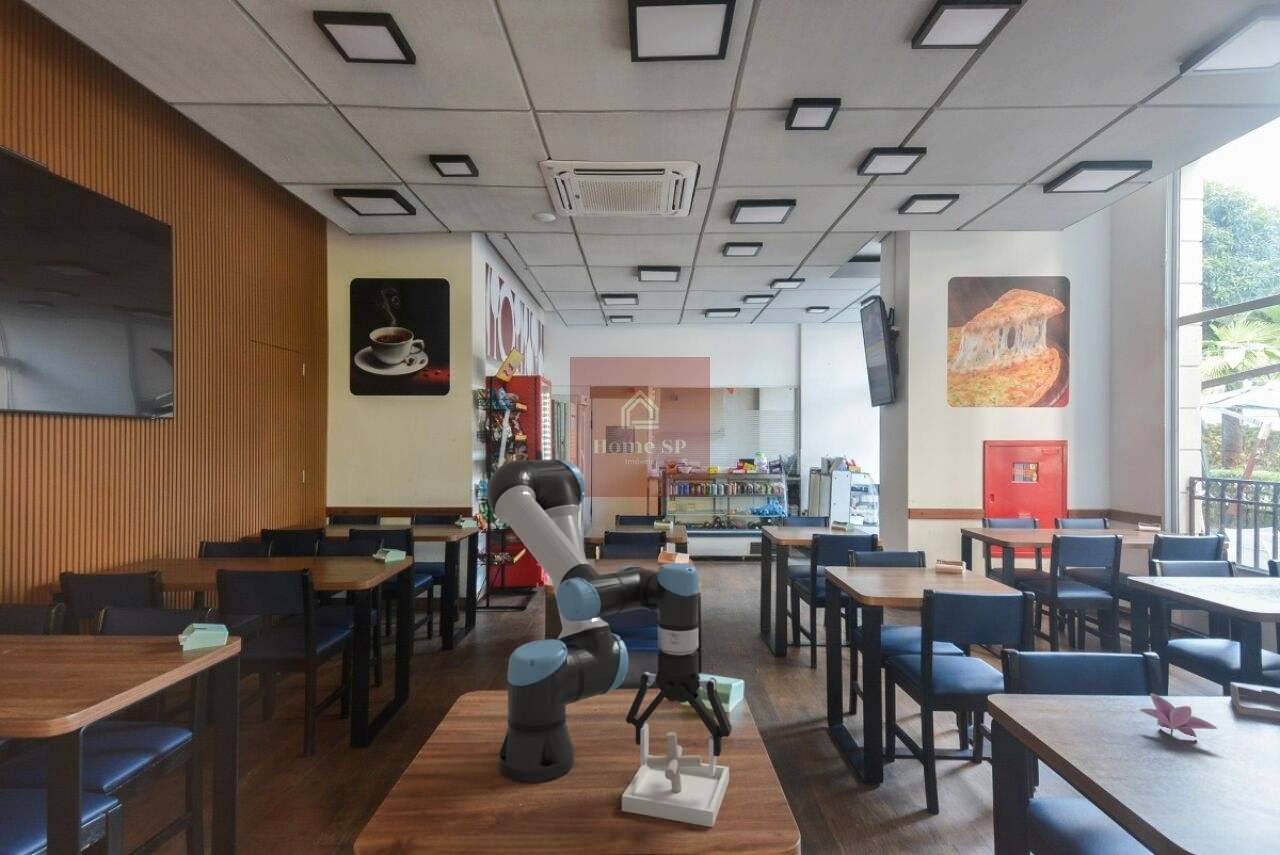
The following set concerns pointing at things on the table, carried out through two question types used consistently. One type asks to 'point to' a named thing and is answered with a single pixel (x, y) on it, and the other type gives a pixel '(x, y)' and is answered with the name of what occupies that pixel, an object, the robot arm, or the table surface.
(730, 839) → the table surface
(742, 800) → the table surface
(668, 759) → the pipe connector
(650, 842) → the table surface
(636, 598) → the robot arm
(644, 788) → the tray
